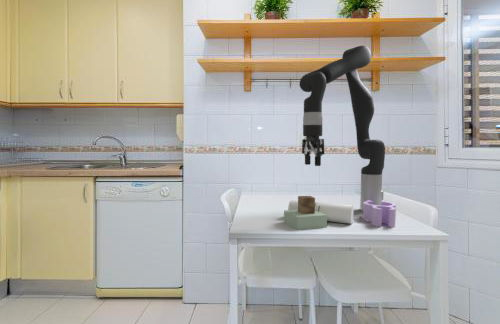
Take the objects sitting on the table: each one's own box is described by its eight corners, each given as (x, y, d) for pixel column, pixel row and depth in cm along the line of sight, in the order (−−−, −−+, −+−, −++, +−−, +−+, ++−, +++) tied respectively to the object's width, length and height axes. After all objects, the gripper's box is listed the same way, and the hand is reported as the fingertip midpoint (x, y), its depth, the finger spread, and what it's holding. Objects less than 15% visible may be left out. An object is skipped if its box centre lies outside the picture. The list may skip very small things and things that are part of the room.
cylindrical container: (287, 213, 131) (350, 219, 120) (290, 197, 134) (352, 202, 123) (291, 219, 136) (352, 226, 126) (294, 204, 140) (354, 210, 129)
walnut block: (309, 210, 126) (310, 195, 126) (314, 213, 121) (314, 197, 121) (297, 211, 125) (298, 196, 125) (302, 213, 121) (302, 198, 120)
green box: (310, 221, 131) (310, 208, 130) (326, 228, 119) (327, 215, 119) (283, 223, 127) (284, 210, 127) (297, 230, 115) (298, 217, 115)
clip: (403, 228, 119) (403, 210, 118) (367, 226, 121) (368, 208, 121) (390, 216, 138) (391, 201, 138) (360, 215, 141) (361, 199, 140)
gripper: (330, 123, 121) (330, 166, 122) (312, 125, 134) (312, 163, 135) (312, 123, 119) (312, 166, 120) (296, 125, 132) (296, 164, 133)
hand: (312, 165), depth 127 cm, fingers open, 8 cm apart
